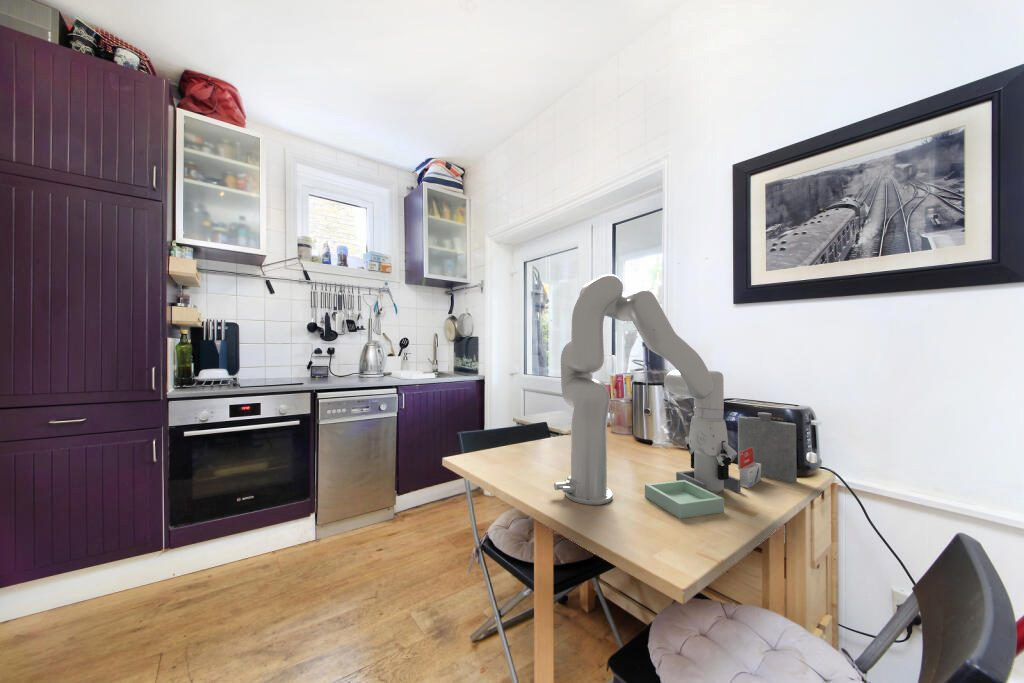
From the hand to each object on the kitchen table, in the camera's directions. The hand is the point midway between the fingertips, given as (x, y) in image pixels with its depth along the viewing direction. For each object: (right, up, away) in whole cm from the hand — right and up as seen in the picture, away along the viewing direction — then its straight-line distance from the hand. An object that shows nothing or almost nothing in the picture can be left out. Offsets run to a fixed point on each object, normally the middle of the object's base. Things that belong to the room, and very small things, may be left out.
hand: (708, 473), depth 103 cm
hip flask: (+25, -5, +12) cm, 28 cm away
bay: (0, -4, 0) cm, 4 cm away
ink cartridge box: (+15, -5, +5) cm, 17 cm away
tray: (-13, -4, -11) cm, 17 cm away
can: (0, -5, 0) cm, 5 cm away
